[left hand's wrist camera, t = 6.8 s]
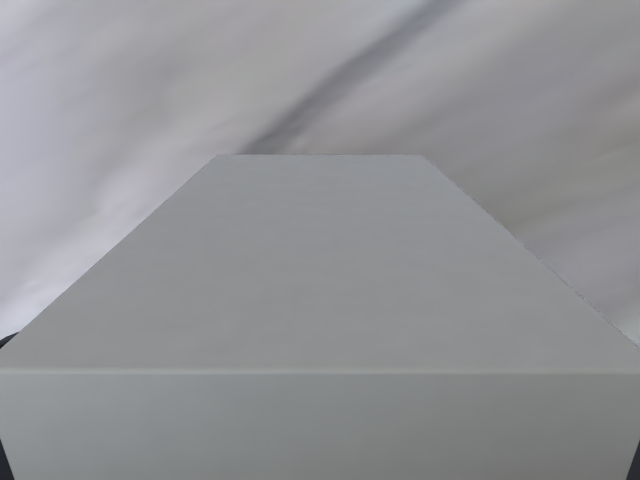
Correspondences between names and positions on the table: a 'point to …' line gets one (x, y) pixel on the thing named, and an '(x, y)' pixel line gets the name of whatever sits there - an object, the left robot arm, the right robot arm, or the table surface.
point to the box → (320, 341)
